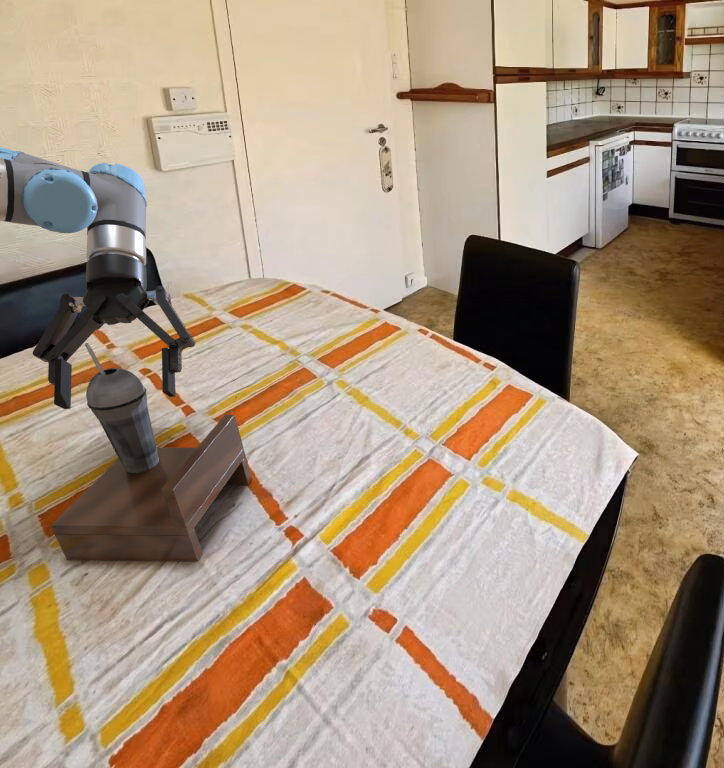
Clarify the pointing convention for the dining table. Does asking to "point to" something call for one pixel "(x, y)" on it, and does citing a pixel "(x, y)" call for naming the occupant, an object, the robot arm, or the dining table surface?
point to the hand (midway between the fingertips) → (116, 400)
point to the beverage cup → (123, 415)
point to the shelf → (154, 502)
